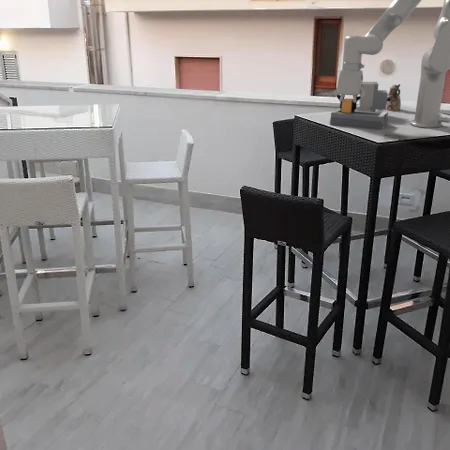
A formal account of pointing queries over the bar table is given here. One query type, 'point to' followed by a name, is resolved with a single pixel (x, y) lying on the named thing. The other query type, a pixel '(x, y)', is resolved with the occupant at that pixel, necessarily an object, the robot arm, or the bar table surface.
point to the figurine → (394, 99)
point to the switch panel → (358, 123)
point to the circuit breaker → (372, 98)
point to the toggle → (347, 105)
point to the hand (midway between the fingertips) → (347, 110)
